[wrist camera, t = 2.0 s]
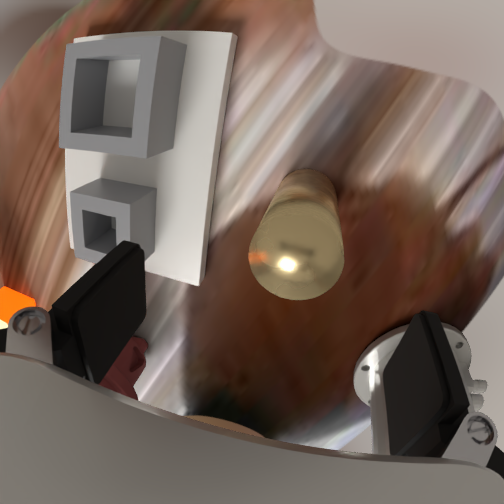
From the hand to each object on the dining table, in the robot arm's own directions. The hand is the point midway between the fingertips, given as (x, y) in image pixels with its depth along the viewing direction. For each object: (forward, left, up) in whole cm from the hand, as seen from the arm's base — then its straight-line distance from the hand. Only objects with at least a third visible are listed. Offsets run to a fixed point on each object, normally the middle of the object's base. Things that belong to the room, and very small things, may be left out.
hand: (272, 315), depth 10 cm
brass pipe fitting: (0, 0, -15) cm, 15 cm away
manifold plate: (+14, -1, -15) cm, 20 cm away
